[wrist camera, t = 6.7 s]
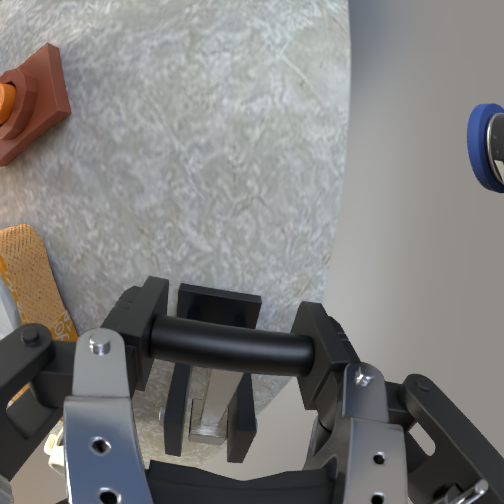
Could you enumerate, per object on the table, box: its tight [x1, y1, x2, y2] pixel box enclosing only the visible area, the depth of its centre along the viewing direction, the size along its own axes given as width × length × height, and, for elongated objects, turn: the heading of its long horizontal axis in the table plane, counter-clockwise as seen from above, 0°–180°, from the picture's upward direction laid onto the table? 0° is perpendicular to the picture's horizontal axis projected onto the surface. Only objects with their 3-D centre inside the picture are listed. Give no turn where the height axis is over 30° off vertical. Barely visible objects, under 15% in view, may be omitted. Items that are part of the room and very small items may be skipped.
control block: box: [0, 43, 71, 167], centre depth 14 cm, size 10×8×4 cm
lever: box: [149, 314, 315, 445], centre depth 11 cm, size 12×5×2 cm, turn 168°
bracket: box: [159, 283, 262, 463], centre depth 19 cm, size 8×7×13 cm
